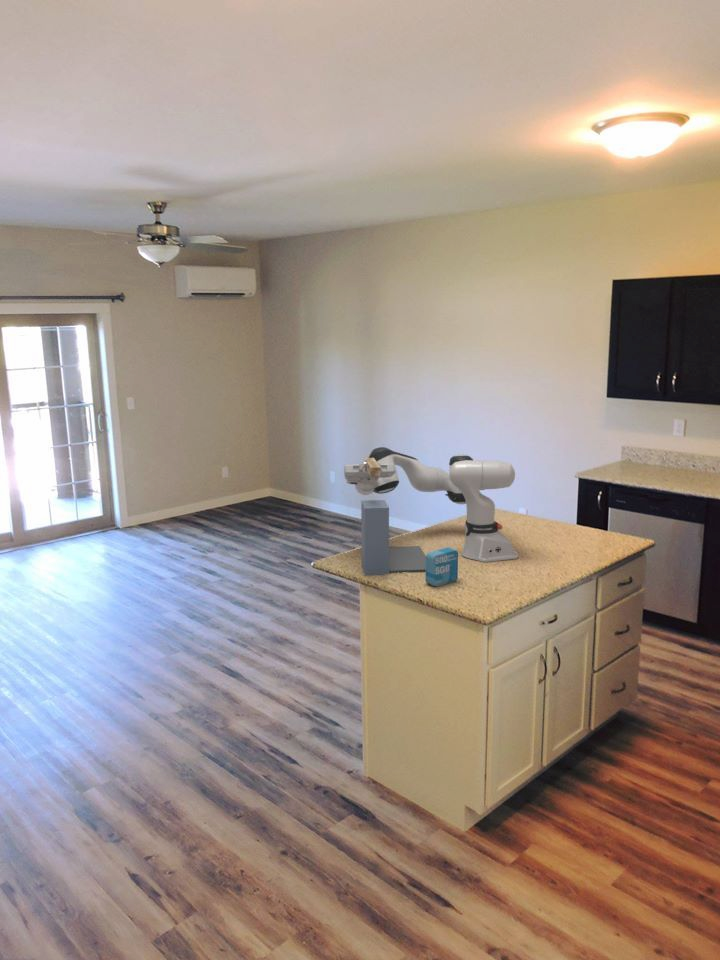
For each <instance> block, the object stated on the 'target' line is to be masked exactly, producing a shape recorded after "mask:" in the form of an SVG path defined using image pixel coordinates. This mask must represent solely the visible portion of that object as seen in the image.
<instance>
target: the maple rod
mask: <svg viewBox="0 0 720 960" xmlns="http://www.w3.org/2000/svg"><path fill="white" fill-rule="evenodd" d="M364 463H367V468H366V470H367V471H368V473H369V475H370V476H371V477H380V466H379V465H378V463H377V462H376V460H375V459H374V458H369V457H364Z"/></svg>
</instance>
